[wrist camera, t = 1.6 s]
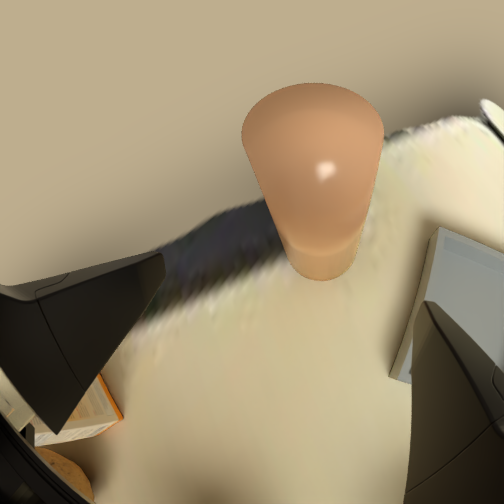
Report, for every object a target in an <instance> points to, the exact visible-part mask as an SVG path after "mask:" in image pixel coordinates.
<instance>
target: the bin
mask: <svg viewBox="0 0 504 504" xmlns="http://www.w3.org/2000/svg"><path fill="white" fill-rule="evenodd" d="M424 300H427V301H434V302H436V303H437V304H438V305H439V306H440V307H441V308H442V309H443V310H444V311H445V312H446V313H447V314H448V315H449V316H450V317H451V318H452V319H453V320H454V321H455V322H456V323H457V324H458V325H459V326H460V327H461V328H462V329H463V330H464V331H465V332H466V333H467V334H468V335H469V336H470V337H471V338H472V339H473V340H474V341H475V342H476V343H477V344H478V345H479V346H480V347H481V348H482V349H483V350H484V351H485V353H486V354H487V355H488V356H489V357H490V358H491V359H492V360H493V361H494V362H495V364H496V365H497V366H498V367H499V368H500V369H501V370H502V371H503V372H504V254H503V253H501V252H499V251H497V250H494V249H492V248H490V247H488V246H486V245H483V244H481V243H479V242H477V241H474V240H472V239H470V238H467V237H465V236H463V235H460V234H458V233H455V232H453V231H450V230H448V229H445V228H443V227H440V226H439V227H438V229H437V230H436V231H435V233H434V234H433V235H432V236H431V238H430V239H429V244H428V249H427V254H426V258H425V263H424V267H423V272H422V276H421V280H420V284H419V288H418V291H417V295H416V299H415V302H414V306H413V309H412V313H411V316H410V319H409V322H408V325H407V328H406V331H405V334H404V337H403V340H402V343H401V346H400V349H399V351H398V354H397V357H396V359H395V362H394V365H393V367H392V370H391V372H390V375H389V377H390V378H393V379H396V380H399V381H402V382H405V383H409V384H412V382H411V362H412V344H413V325H414V321H415V318H416V316H417V313H418V311H419V308H420V305H421V303H422V302H423V301H424ZM496 365H495V366H496Z"/></svg>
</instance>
